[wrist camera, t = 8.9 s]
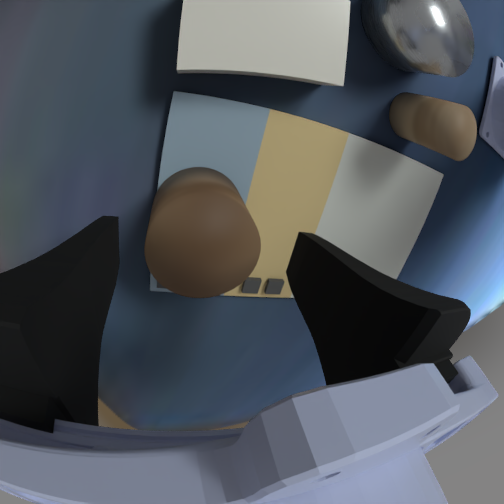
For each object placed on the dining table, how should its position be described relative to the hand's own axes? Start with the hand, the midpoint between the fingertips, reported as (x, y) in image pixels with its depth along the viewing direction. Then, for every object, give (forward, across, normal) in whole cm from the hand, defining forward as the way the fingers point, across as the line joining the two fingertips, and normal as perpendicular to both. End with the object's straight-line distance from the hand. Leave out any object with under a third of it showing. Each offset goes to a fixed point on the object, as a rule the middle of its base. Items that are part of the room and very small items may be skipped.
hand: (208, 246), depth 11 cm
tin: (+4, -9, -13) cm, 17 cm away
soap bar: (+5, -1, -9) cm, 10 cm away
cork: (+4, -11, -8) cm, 14 cm away
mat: (+4, -7, 0) cm, 8 cm away
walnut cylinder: (+4, 0, 0) cm, 4 cm away
